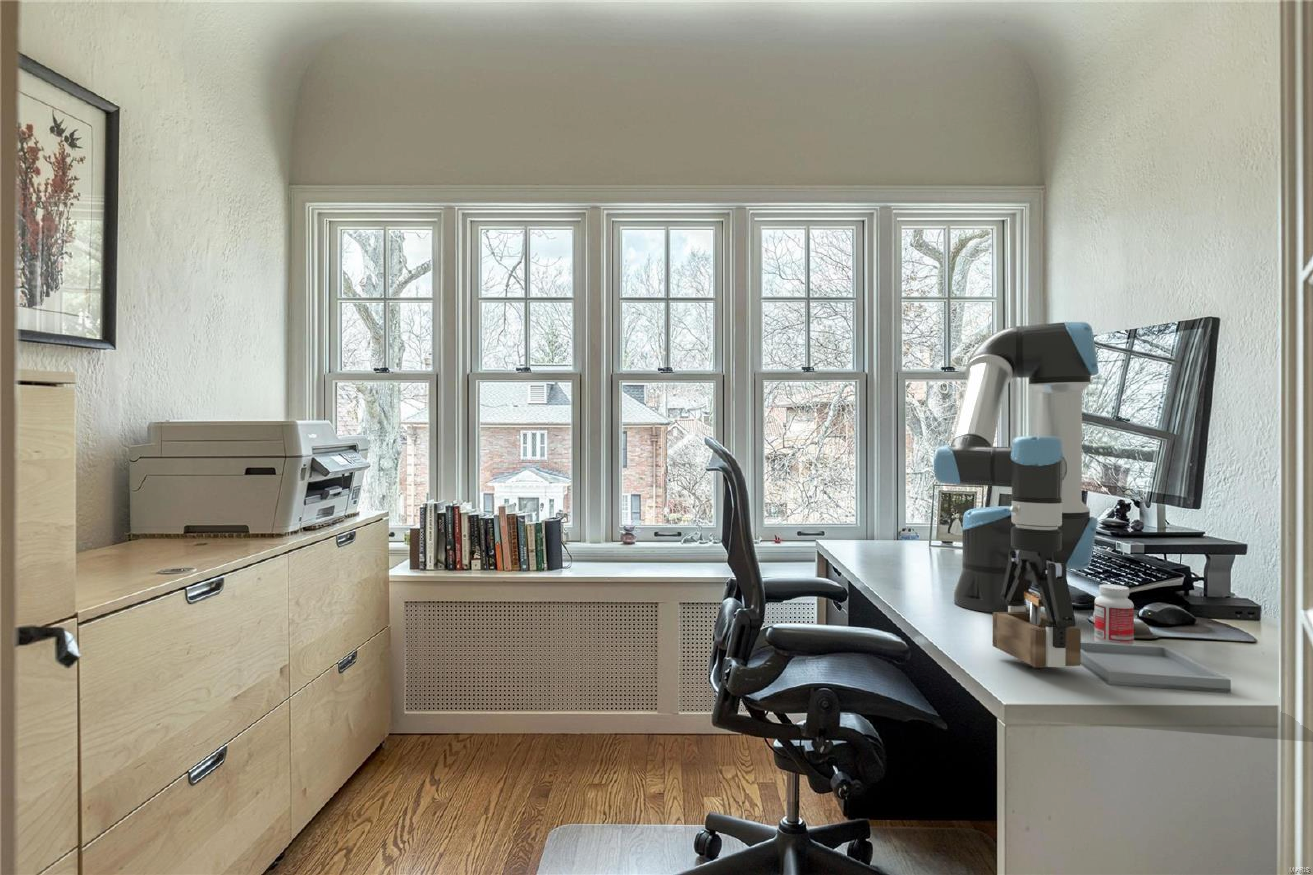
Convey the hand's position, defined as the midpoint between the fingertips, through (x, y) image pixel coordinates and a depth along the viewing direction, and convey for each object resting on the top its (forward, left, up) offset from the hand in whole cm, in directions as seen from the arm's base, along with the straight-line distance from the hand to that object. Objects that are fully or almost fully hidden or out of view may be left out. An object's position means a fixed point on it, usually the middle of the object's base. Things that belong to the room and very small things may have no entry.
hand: (1034, 654), depth 113 cm
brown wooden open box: (0, 0, 0) cm, 0 cm away
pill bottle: (-17, +20, -2) cm, 26 cm away
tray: (-2, +17, -2) cm, 17 cm away
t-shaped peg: (0, 0, -2) cm, 2 cm away
